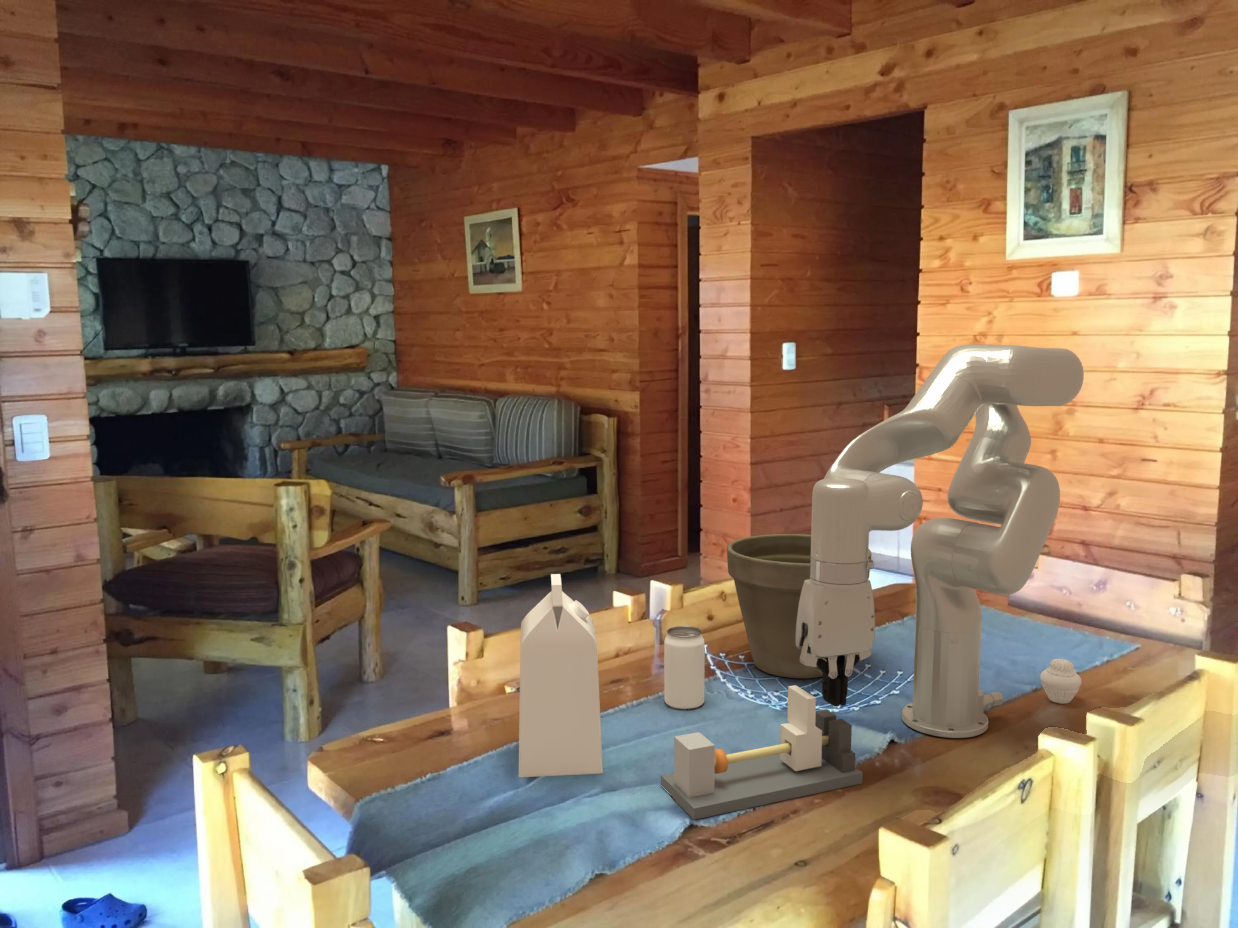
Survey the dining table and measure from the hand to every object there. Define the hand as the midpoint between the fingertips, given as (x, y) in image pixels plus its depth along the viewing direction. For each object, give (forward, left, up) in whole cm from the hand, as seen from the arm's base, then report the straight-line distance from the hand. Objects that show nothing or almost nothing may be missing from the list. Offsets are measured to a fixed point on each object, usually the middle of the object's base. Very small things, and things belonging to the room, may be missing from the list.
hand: (834, 702), depth 138 cm
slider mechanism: (+11, 0, -10) cm, 15 cm away
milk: (+33, -19, -10) cm, 40 cm away
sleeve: (+5, 0, -8) cm, 9 cm away
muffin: (-48, -7, -10) cm, 49 cm away
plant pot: (-18, -38, -10) cm, 43 cm away
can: (+8, -30, -10) cm, 33 cm away
